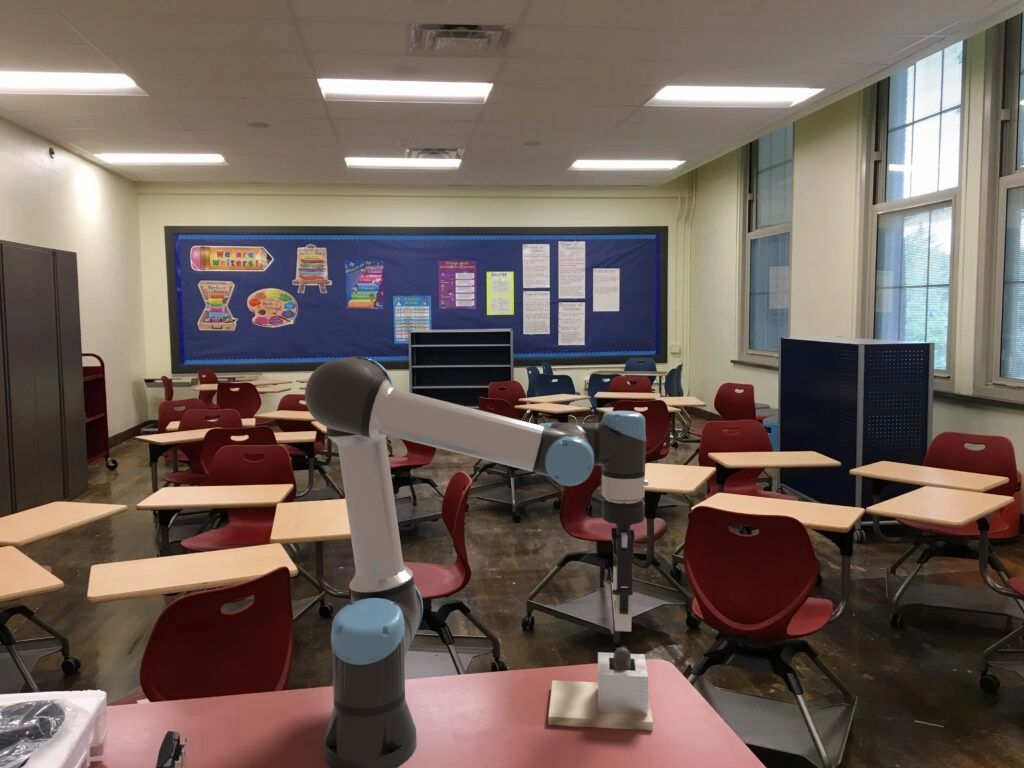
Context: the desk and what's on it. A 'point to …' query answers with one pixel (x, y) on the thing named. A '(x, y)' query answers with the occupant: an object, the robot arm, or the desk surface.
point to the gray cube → (622, 686)
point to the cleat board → (592, 703)
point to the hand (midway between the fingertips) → (621, 614)
